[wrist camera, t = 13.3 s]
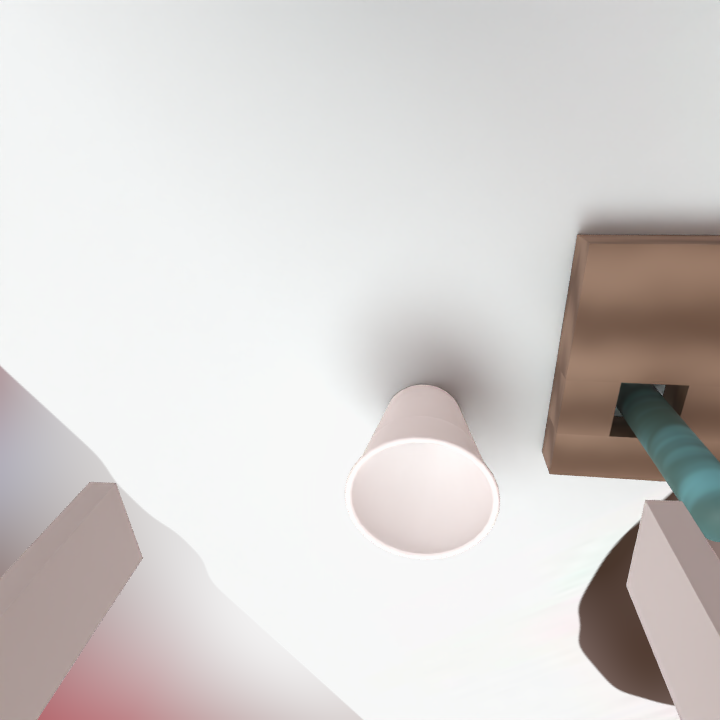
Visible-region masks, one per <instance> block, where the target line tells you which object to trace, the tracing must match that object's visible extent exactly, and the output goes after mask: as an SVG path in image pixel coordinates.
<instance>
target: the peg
mask: <svg viewBox="0 0 720 720" xmlns="http://www.w3.org/2000/svg"><path fill="white" fill-rule="evenodd" d="M616 407H617V408H618V410H619V411H620V413H621V414H622V416H623V417H624V419H625V420H626V422H627V423H628V425H629V426H630V428H631V429H632V431H633V432H634V434H635V435H636V437H637V438H638V440H639V441H640V443H641V444H642V446H643V447H644V449H645V450H646V452H647V453H648V455H649V456H650V458H651V459H652V461H653V462H654V464H655V465H656V467H657V468H658V470H659V471H660V473H661V474H662V476H663V477H664V479H665V480H666V482H667V483H668V485H669V486H670V488H671V489H672V491H673V492H674V494H675V495H676V497H677V498H678V499H679V501H682V502H683V503H684V505H685V507H686V508H687V510H688V511H689V513H690V514H691V516H692V518H693V519H694V521H695V522H696V524H697V525H698V527H699V529H700V530H701V532H702V533H703V535H704V536H705V537H706V538H707V539H709V540H712V541H715V542H720V462H719V461H718V460H717V459H716V458H715V456H714V455H713V454H712V453H711V452H710V451H709V449H708V448H707V447H706V446H705V445H704V444H703V442H702V441H701V440H700V439H699V438H698V437H697V436H696V434H695V433H694V432H693V431H692V430H691V429H690V427H689V426H688V425H687V424H686V423H685V422H684V421H683V419H682V418H681V417H680V416H679V415H678V414H677V412H676V411H675V410H674V409H673V408H672V407H671V406H670V404H669V403H668V402H667V401H666V400H665V399H664V397H663V396H662V395H661V394H660V393H659V392H658V391H657V389H656V388H655V387H654V386H653V385H652V384H641V383H621V386H620V390H619V395H618V399H617V404H616Z"/></svg>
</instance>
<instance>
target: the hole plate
mask: <svg viewBox="0 0 720 720" xmlns="http://www.w3.org/2000/svg"><path fill="white" fill-rule="evenodd" d="M621 383H641V384H665V385H666V387H665V391H664V395H663V397H664V399H665V400H666V401H667V402H668V403H669V404H670V406H671V407H672V408H673V409H674V410H675V411H676V412H677V414H678V415H679V416H680V417H681V418H682V419H683V421H684V422H685V423H686V424H687V425H688V426H689V427H690V429H691V430H692V431H693V432H694V433H695V434H696V436H697V437H698V438H699V439H700V440H701V441H702V442H703V444H704V445H705V446H706V447H707V448H708V449H709V451H710V452H711V453H712V454H713V455H714V456H715V458H716V459H717V460H718V461H719V462H720V235H577V239H576V246H575V252H574V258H573V264H572V270H571V276H570V283H569V289H568V295H567V301H566V307H565V313H564V320H563V326H562V332H561V338H560V344H559V350H558V357H557V363H556V369H555V375H554V381H553V387H552V394H551V400H550V406H549V412H548V418H547V424H546V431H545V437H544V443H543V449H542V453H543V456H544V459H545V462H546V465H547V468H548V471H549V474H557V475H572V476H588V477H604V478H620V479H635V480H651V481H666V480H665V479H664V477H663V476H662V474H661V473H660V471H659V470H658V468H657V467H656V465H655V464H654V462H653V461H652V459H651V458H650V456H649V455H648V453H647V452H646V450H645V449H644V447H643V446H642V444H641V443H640V441H639V440H638V438H637V437H636V435H635V434H634V432H633V431H632V429H631V428H630V426H629V425H628V423H627V422H626V420H625V419H624V417H615V416H614V412H615V408H616V404H617V399H618V395H619V390H620V386H621Z"/></svg>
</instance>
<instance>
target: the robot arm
mask: <svg viewBox="0 0 720 720" xmlns="http://www.w3.org/2000/svg"><path fill="white" fill-rule="evenodd" d="M142 559H143V557H142V555H141V552H140V549H139V546H138V543H137V541H136V538H135V535H134V532H133V529H132V527H131V524H130V521H129V518H128V516H127V513H126V510H125V507H124V505H123V502H122V499H121V496H120V493H119V491H118V488H117V485H116V483H101V482H89V484H88V485H87V486H86V487H85V488H84V489H83V490H82V491H81V492H80V493H79V494H78V495H77V496H76V497H75V499H74V500H73V501H72V502H71V503H70V504H69V505H68V506H67V507H66V508H65V509H64V510H63V511H62V512H61V513H60V515H59V516H58V517H57V518H56V519H55V520H54V521H53V522H52V523H51V524H50V525H49V526H48V527H47V528H46V530H45V531H44V532H43V533H42V534H41V535H40V536H39V537H38V538H37V539H36V540H35V541H34V542H33V543H32V545H31V546H30V547H29V548H28V549H27V550H26V551H25V552H24V553H23V554H22V555H21V556H20V558H18V560H17V561H16V562H15V563H14V564H13V565H12V566H11V567H10V568H9V569H8V570H7V571H6V572H5V574H4V575H3V576H2V577H1V578H0V720H37V719H38V717H39V716H40V714H41V713H42V711H43V710H44V708H45V707H46V705H47V704H48V702H49V701H50V699H51V698H52V696H53V695H54V693H55V692H56V690H57V689H58V687H59V685H60V684H61V682H62V681H63V679H64V678H65V676H66V675H67V673H68V672H69V670H70V669H71V667H72V666H73V664H74V663H75V661H76V660H77V658H78V656H79V655H80V653H81V652H82V650H83V649H84V647H85V646H86V644H87V643H88V641H89V640H90V638H91V637H92V635H93V634H94V632H95V630H96V629H97V627H98V626H99V624H100V623H101V621H102V620H103V618H104V617H105V615H106V614H107V612H108V611H109V609H110V608H111V606H112V605H113V603H114V602H115V600H116V598H117V597H118V595H119V594H120V592H121V591H122V589H123V588H124V586H125V585H126V583H127V582H128V580H129V579H130V577H131V576H132V574H133V572H134V571H135V569H136V568H137V566H138V565H139V563H140V562H141V560H142ZM626 586H627V589H628V591H629V594H630V596H631V598H632V601H633V603H634V606H635V608H636V611H637V613H638V616H639V618H640V621H641V623H642V625H643V628H644V631H645V633H646V636H647V638H648V640H649V643H650V645H651V648H652V650H653V653H654V655H655V658H656V660H657V663H658V665H659V667H660V670H661V672H662V675H663V677H664V680H665V682H666V685H667V687H668V690H669V692H670V695H671V697H672V700H673V702H674V705H675V707H676V710H677V712H678V715H679V717H680V719H681V720H720V560H719V559H718V557H717V555H716V554H715V552H714V551H713V549H712V547H711V546H710V544H709V543H708V541H707V540H706V538H705V536H704V535H703V533H702V532H701V530H700V529H699V527H698V525H697V524H696V522H695V521H694V519H693V518H692V516H691V514H690V513H689V511H688V510H687V508H686V507H685V505H684V503H683V502H682V501H661V500H645V504H644V508H643V513H642V517H641V522H640V526H639V531H638V535H637V540H636V544H635V548H634V553H633V558H632V562H631V566H630V571H629V575H628V580H627V584H626Z"/></svg>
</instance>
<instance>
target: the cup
mask: <svg viewBox="0 0 720 720" xmlns="http://www.w3.org/2000/svg"><path fill="white" fill-rule="evenodd" d="M345 501H346V506H347V509H348V512H349V515H350V517H351V519H352V521H353V522H354V524H355V526H356V527H357V528H358V529H359V530H360V532H361V533H362V534H363V535H364V536H365V537H366V538H368V539H369V540H370V541H371V542H373V543H374V544H375V545H377V546H379V547H381V548H383V549H384V550H386V551H389V552H391V553H394V554H397V555H399V556H404V557H409V558H414V559H440V558H445V557H449V556H454V555H457V554H459V553H461V552H464V551H466V550H468V549H470V548H471V547H473V546H474V545H476V544H478V543H479V542H480V541H481V540H482V539H483V538H484V537H485V536H486V535H487V534H488V533H489V531H490V530H491V528H492V527H493V525H494V524H495V521H496V519H497V516H498V513H499V507H500V495H499V489H498V485H497V483H496V480H495V478H494V475H493V474H492V472H491V471H490V470H489V468H488V467H487V465H486V464H485V463H484V462H483V459H482V457H481V455H480V453H479V450H478V448H477V446H476V444H475V442H474V440H473V437H472V435H471V433H470V431H469V428H468V426H467V424H466V422H465V419H464V417H463V415H462V413H461V410H460V408H459V406H458V404H457V402H456V401H455V399H454V398H453V397H452V396H451V395H450V394H449V393H448V392H446V391H444V390H443V389H441V388H438V387H436V386H432V385H413V386H410V387H407V388H405V389H403V390H401V391H399V392H398V393H397V394H396V395H395V396H394V397H393V398H392V400H391V401H390V403H389V405H388V407H387V408H386V410H385V412H384V414H383V416H382V418H381V420H380V422H379V424H378V426H377V428H376V430H375V432H374V434H373V436H372V438H371V440H370V441H369V443H368V445H367V447H366V449H365V451H364V453H363V455H362V456H361V457H360V458H359V460H358V461H357V462H356V463H355V465H354V466H353V467H352V469H351V471H350V474H349V476H348V478H347V482H346V487H345Z"/></svg>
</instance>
